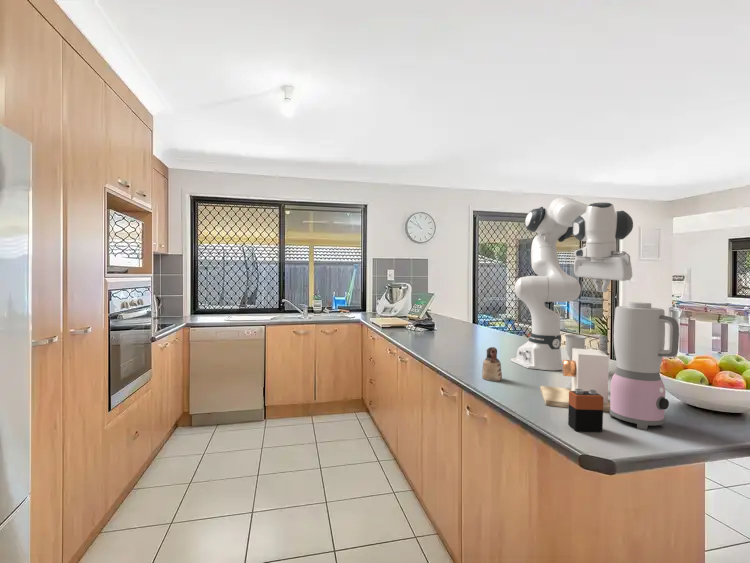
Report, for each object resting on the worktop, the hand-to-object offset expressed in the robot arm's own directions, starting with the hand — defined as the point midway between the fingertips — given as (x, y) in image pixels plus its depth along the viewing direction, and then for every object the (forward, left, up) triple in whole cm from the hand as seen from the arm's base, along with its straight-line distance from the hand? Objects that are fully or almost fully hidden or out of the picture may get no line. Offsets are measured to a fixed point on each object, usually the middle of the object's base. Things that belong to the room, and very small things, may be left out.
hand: (601, 291), depth 131 cm
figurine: (-23, -27, -34) cm, 49 cm away
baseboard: (+6, -18, -34) cm, 39 cm away
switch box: (+8, -14, -32) cm, 36 cm away
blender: (+26, -16, -34) cm, 45 cm away
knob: (+7, -16, -26) cm, 32 cm away
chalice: (-5, -6, -34) cm, 35 cm away
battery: (+24, -34, -34) cm, 53 cm away
